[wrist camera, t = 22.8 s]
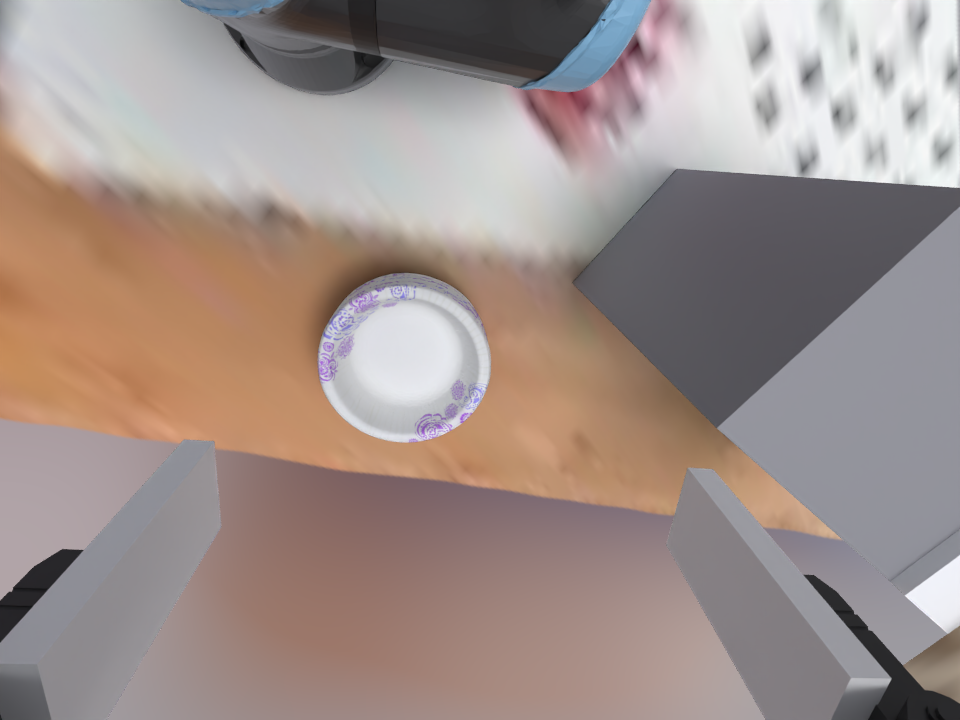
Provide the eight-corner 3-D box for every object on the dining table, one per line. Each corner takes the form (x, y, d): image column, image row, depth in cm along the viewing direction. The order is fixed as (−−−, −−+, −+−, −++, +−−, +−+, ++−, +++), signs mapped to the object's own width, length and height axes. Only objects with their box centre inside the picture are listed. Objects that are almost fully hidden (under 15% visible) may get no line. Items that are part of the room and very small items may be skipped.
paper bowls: (444, 429, 58) (444, 469, 50) (310, 371, 55) (289, 406, 47) (512, 307, 53) (523, 332, 46) (370, 237, 50) (358, 251, 43)
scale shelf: (752, 444, 61) (1029, 705, 32) (572, 282, 53) (727, 438, 24) (852, 355, 58) (1260, 558, 29) (676, 168, 50) (1002, 190, 21)
